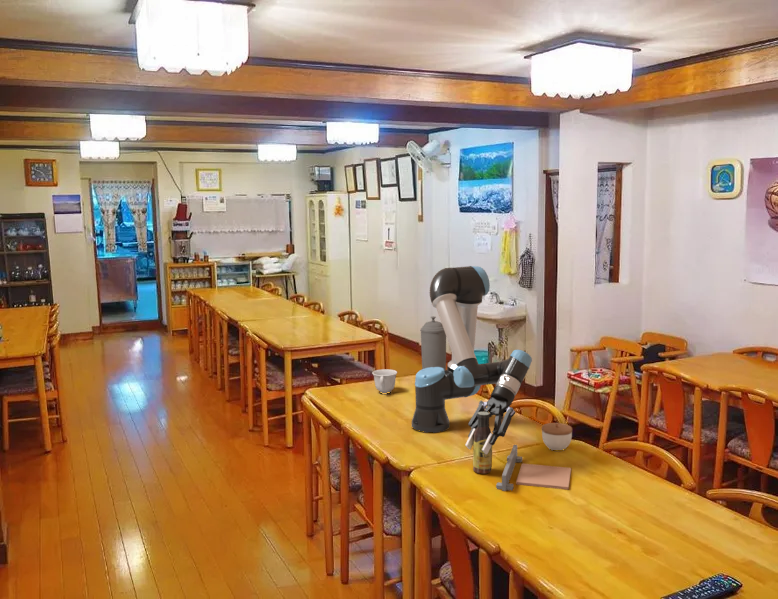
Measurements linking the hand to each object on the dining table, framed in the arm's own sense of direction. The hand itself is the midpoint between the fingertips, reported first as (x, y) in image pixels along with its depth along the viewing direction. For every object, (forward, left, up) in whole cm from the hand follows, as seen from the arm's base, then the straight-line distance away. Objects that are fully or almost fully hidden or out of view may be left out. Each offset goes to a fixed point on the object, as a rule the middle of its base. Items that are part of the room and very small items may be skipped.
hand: (476, 449), depth 223 cm
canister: (-39, +101, -9) cm, 109 cm away
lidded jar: (+24, +31, -9) cm, 40 cm away
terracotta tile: (+22, +3, -8) cm, 23 cm away
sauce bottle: (+2, +3, -9) cm, 9 cm away
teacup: (-59, +85, -9) cm, 104 cm away
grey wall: (+11, +3, -8) cm, 14 cm away
